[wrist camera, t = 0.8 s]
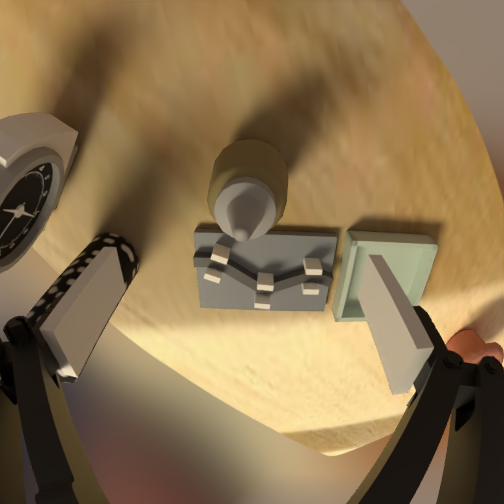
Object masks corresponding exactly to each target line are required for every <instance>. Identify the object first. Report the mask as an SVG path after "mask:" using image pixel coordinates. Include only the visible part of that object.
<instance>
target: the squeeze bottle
mask: <svg viewBox="0 0 504 504" xmlns="http://www.w3.org/2000/svg"><path fill="white" fill-rule="evenodd" d="M287 190H288V171H287V164H286V162H285V160H284V159H283V157H282V155H281V154H280V152H279V151H278V150H277V149H275V148H274V147H273V146H271V145H270V144H268V143H267V142H264V141H260V140H255V139H246V140H240V141H236V142H234V143H232V144H231V145H229V146H228V147H226V148H224V149H223V150H222V152H221V153H220V155H219V156H218V158H217V159H216V161H215V164H214V168H213V173H212V177H211V182H210V187H209V192H208V198H207V201H208V205H209V209H210V214H211V215H212V216H213V218H214V219H215V220H216V222H217V224H218V225H219V226H220V228H221V229H222V231H223V232H225V233H226V234H228V235H230V236H231V237H233V238H235V239H236V240H237V241H239V242H245V241H247V240H249V239H256V238H258V237H260V236H262V235H263V234H265V233H267V232H268V230H269V229H271V228H273V227H274V226H275V225H276V223H277V222H278V221H279V220H280V219H281V217H282V216H283V213H284V209H285V206H286V202H287Z"/></svg>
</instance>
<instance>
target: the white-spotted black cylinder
mask: <svg viewBox="0 0 504 504" xmlns="http://www.w3.org/2000/svg"><path fill="white" fill-rule="evenodd" d="M103 247H116V249H117V254H118V259H119V263H120V267H121V272H122V276H123V280H124V284H125V288H126V290H127V289H128V287H129V285H130V284H131V282H132V280H133V279H134V277H135V275H136V274H137V271H138V268H139V260H138V256H137V253H136V251H135V250H134V248H133V246H132V245H131V244H130V243H129V242H128V241H127V240H126V239H124V238H123V237H121V236H119V235H116V234H112V233H104V234H100V235H98V236H97V237H96V238H95V239H94V240H93V241H92V242H91V243H90V244H89V245H88V246H87V247H86V248H85V249H84V250H83V251H82V252H81V253H80V254H79V255H78V256H77V257H76V258H75V260H74V261H73V262H72V263H71V264H70V265H69V266H68V267H67V268H66V269H65V271H64V272H63V273H62V274H61V275H60V276H59V277H58V278H57V280H56V281H55V282H54V283H53V284H52V285H51V287H50V288H49V289H48V290H47V291H46V292H45V294H44V295H43V296H42V297H41V298H40V300H39V301H38V302H37V303H36V304H35V306H34V307H33V308H32V309H31V311H30V312H29V313H28V314H27V316H26V318H27V319H28V321H29V323H30V325H31V327H32V328H33V327H34V326H35V324H36V323H37V322H38V320H39V319H40V318H41V316H42V315H43V314H44V313H45V311H46V310H47V308H48V307H49V306H50V304H51V303H52V302H53V300H54V299H55V298H57V297H58V296H59V295H61V294H62V293H66V292H67V291H68V290H69V288H70V287H71V286H72V285H73V283H74V282H75V281H76V280H77V278H78V277H79V276H80V275H81V273H82V272H83V271H84V270H85V269H86V267H87V266H88V265H89V264H90V263H91V261H92V260H93V259H94V258H95V257H96V256H97V254H98V253H99V252H100V251H101V250H102V249H103ZM126 290H125V292H126ZM125 292H124V293H123V295H124V294H125ZM123 295H122V297H123ZM122 297H121V298H120V300H121V299H122ZM120 300H119V302H120ZM119 302H118V304H119ZM118 304H117V305H116V307H117V306H118ZM116 307H115V309H116ZM115 309H114V311H115ZM114 311H113V312H112V314H113V313H114ZM112 314H111V316H112ZM111 316H110V318H111ZM110 318H109V319H108V321H109V320H110ZM108 321H107V323H108ZM107 323H106V325H107ZM106 325H105V327H106ZM105 327H104V328H103V330H104V329H105ZM103 330H102V332H103ZM102 332H101V334H102ZM101 334H100V336H101ZM100 336H99V338H100ZM99 338H98V339H99ZM98 339H97V341H98ZM97 341H96V343H97ZM96 343H95V345H96ZM95 345H94V347H95ZM94 347H93V349H94ZM93 349H92V351H93ZM92 351H91V353H92ZM91 353H90V355H91ZM90 355H89V356H88V358H87V360H88V359H89V357H90ZM87 360H86V362H87ZM86 362H85V364H86ZM85 364H84V366H85ZM84 366H83V368H84ZM83 368H82V370H83ZM82 370H81V372H82ZM56 372H57V374H58V376H59V379H60V382H64V383H73V382H75V381H77V380H78V378H79V376H80V374H81V372H80V374H79V376H78V378H77V377H73V376H69V375H65V374H64V373H63V371H62V369H61V368H60V366H59V367H58V369H57V371H56Z"/></svg>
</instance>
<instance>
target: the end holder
mask: <svg viewBox="0 0 504 504" xmlns="http://www.w3.org/2000/svg"><path fill="white" fill-rule="evenodd" d="M438 246H439V245H438V244H437V242H436V241H435V240H434V239H433V238H432V237H431V236H430V235H421V234H406V233H389V232H372V231H353V230H347V232H346V238H345V244H344V249H343V255H342V261H341V266H340V271H339V276H338V281H337V286H336V291H335V296H334V301H333V305H332V312H333V315H334V319H335V322H352V321H367V320H366V318H365V315H364V312H363V310H362V307H361V304H360V302H359V299H358V295H359V291H360V287H361V283H362V279H363V275H364V270H365V266H366V262H367V257H368V254H372V255H382V256H383V258H384V260H385V261H386V263H387V264H388V266H389V268H390V269H391V271H392V273H393V274H394V276H395V277H396V279H397V281H398V282H399V284H400V286H401V288H402V289H403V291H404V293H405V294H406V296H407V298H408V300H409V301H410V303H411V305H412V306H418V305H419V302H420V299H421V297H422V294H423V291H424V288H425V286H426V283H427V280H428V277H429V274H430V271H431V268H432V265H433V262H434V259H435V256H436V252H437V249H438Z"/></svg>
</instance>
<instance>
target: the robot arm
mask: <svg viewBox="0 0 504 504" xmlns="http://www.w3.org/2000/svg"><path fill="white" fill-rule="evenodd" d="M125 290H126V288H125V284H124V280H123V276H122V272H121V267H120V263H119V259H118V254H117V249H116V247H103V249H102V250H101V251H100V252H99V253H98V254H97V256H96V257H95V258H94V259H93V260H92V261H91V263H90V264H89V265H88V266H87V267H86V269H85V270H84V271H83V272H82V273H81V275H80V276H79V277H78V278H77V280H76V281H75V282H74V283H73V285H72V286H71V287H70V288H69V290H68V291H67V292H66V293H62V294H61V295H59V296H58V297H57V298H55V299H54V300H53V302H52V303H51V304H50V306H49V307H48V308H47V310H46V311H45V313H44V314H43V315H42V316H41V318H40V319H39V320H38V322H37V323H36V324H35V326H34V327H33V328H32V327H31V325H30V323H29V321H28V319H27V318H26V317H24V316H17V317H14V318H12V319H10V320H9V321H8V322H7V323H6V325H5V326H4V329H3V331H4V333H5V335H6V337H7V339H8V340H9V342H2V340H1V338H0V504H26V498H25V490H24V478H23V462H22V430H23V434H24V439H25V443H26V446H27V451H28V455H29V458H30V462H31V465H32V469H33V472H34V475H35V478H36V482H37V485H38V488H39V492H38V493H37V494H35V501H36V504H110V503H109V502H108V500H107V498H106V496H105V495H104V493H103V490H102V489H101V487H100V485H99V483H98V480H97V478H96V477H95V474H94V472H93V470H92V468H91V465H90V463H89V461H88V459H87V456H86V454H85V452H84V449H83V447H82V444H81V442H80V439H79V437H78V434H77V431H76V429H75V426H74V423H73V420H72V418H71V415H70V412H69V409H68V406H67V402H66V399H65V396H64V393H63V389H62V386H61V382H60V379H59V376H58V374H57V372H56V371H57V369H58V367H59V366H60V368H61V369H62V371H63V373H64V374H65V375H69V376H73V377H77V378H78V376H79V374H80V372H81V370H82V368H83V366H84V364H85V362H86V360H87V358H88V356H89V355H90V353H91V351H92V349H93V347H94V345H95V343H96V341H97V339H98V338H99V336H100V334H101V332H102V330H103V328H104V327H105V325H106V323H107V321H108V319H109V318H110V316H111V314H112V312H113V311H114V309H115V307H116V305H117V304H118V302H119V300H120V298H121V297H122V295H123V293H124V292H125ZM358 299H359V302H360V304H361V307H362V310H363V312H364V315H365V318H366V320H367V323H368V326H369V328H370V331H371V334H372V337H373V339H374V342H375V345H376V348H377V351H378V353H379V356H380V359H381V362H382V365H383V368H384V371H385V374H386V377H387V380H388V383H389V387H390V390H391V393H392V395H394V394H401V393H408V392H409V390H410V388H411V387H412V385H413V384H414V387H415V389H416V392H415V394H414V395H413V397H412V398H411V400H410V401H409V402H408V404H407V406H408V407H407V409H406V411H405V413H404V415H403V417H402V418H401V420H400V422H399V424H398V426H397V428H396V429H395V431H394V433H393V435H392V436H391V438H390V440H389V442H388V443H387V445H386V447H385V448H384V450H383V452H382V453H381V455H380V456H379V458H378V460H377V461H376V463H375V464H374V466H373V467H372V469H371V470H370V472H369V473H368V475H367V476H366V478H365V479H364V481H363V482H362V483H361V485H360V486H359V488H358V489H357V490H356V492H355V493H354V494H353V496H352V497H351V498H350V500H349V501H348V502H347V504H409V503H410V502H411V500H412V498H413V496H414V494H415V493H416V491H417V489H418V487H419V485H420V483H421V481H422V479H423V477H424V475H425V473H426V471H427V469H428V467H429V464H430V463H431V461H432V459H433V456H434V454H435V452H436V450H437V447H438V445H439V443H440V440H441V438H442V435H443V433H444V430H445V428H446V425H447V422H448V420H449V417H450V414H451V421H450V430H449V439H448V447H447V453H446V459H445V466H444V471H443V476H442V482H441V485H440V490H439V495H438V499H437V503H436V504H504V369H503V366H502V364H501V363H500V361H499V360H497V359H496V358H494V357H492V356H485V357H483V358H482V359H481V360H480V362H479V363H478V364H474V363H467V362H464V360H463V358H462V357H461V356H460V355H459V354H458V353H456V352H454V351H451V350H448V349H447V347H446V345H445V343H444V341H443V339H442V338H441V336H440V334H439V332H438V330H437V329H436V328H435V325H434V323H433V322H432V320H431V318H430V316H429V315H428V313H427V312H426V311H425V310H424V309H423V308H422V307H420V306H412V305H411V303H410V301H409V300H408V298H407V296H406V294H405V293H404V291H403V289H402V288H401V286H400V284H399V282H398V281H397V279H396V277H395V276H394V274H393V273H392V271H391V269H390V268H389V266H388V264H387V263H386V261H385V260H384V258H383V256H382V255H372V254H368V257H367V262H366V266H365V270H364V275H363V279H362V283H361V287H360V291H359V295H358Z"/></svg>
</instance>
